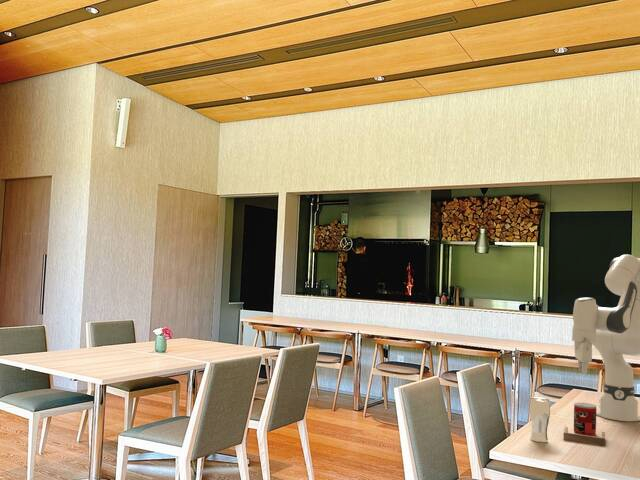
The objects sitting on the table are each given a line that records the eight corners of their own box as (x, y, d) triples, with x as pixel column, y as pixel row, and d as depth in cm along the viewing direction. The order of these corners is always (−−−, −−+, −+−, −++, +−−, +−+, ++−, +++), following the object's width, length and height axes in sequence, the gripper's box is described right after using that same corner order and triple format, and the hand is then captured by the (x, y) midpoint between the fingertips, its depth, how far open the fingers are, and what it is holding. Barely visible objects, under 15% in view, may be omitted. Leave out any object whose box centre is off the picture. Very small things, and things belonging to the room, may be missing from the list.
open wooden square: (564, 433, 232) (564, 426, 232) (604, 438, 226) (604, 432, 226) (563, 439, 223) (563, 432, 223) (605, 445, 217) (605, 438, 217)
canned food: (569, 430, 237) (570, 402, 238) (589, 430, 238) (589, 402, 238) (579, 435, 230) (580, 406, 230) (599, 436, 230) (600, 407, 231)
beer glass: (550, 443, 216) (551, 401, 217) (530, 441, 217) (531, 400, 218) (547, 438, 223) (548, 398, 224) (527, 436, 224) (528, 396, 225)
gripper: (596, 339, 230) (595, 375, 229) (588, 337, 250) (587, 370, 249) (579, 337, 232) (577, 373, 231) (572, 335, 252) (571, 369, 250)
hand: (582, 372), depth 240 cm, fingers open, 8 cm apart
